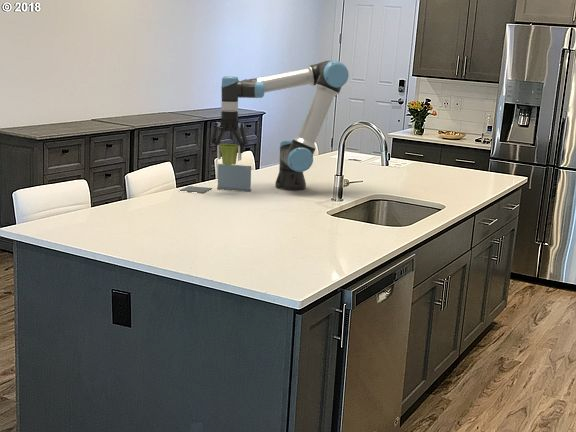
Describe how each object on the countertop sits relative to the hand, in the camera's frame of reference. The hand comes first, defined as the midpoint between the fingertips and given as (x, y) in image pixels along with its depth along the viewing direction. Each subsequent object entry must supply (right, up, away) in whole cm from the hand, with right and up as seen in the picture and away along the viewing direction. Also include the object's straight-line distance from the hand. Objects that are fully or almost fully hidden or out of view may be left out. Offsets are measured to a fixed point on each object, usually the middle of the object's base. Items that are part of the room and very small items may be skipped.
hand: (229, 159), depth 356 cm
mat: (-16, -14, +7) cm, 23 cm away
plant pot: (0, -2, 0) cm, 2 cm away
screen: (+1, -14, +11) cm, 18 cm away
